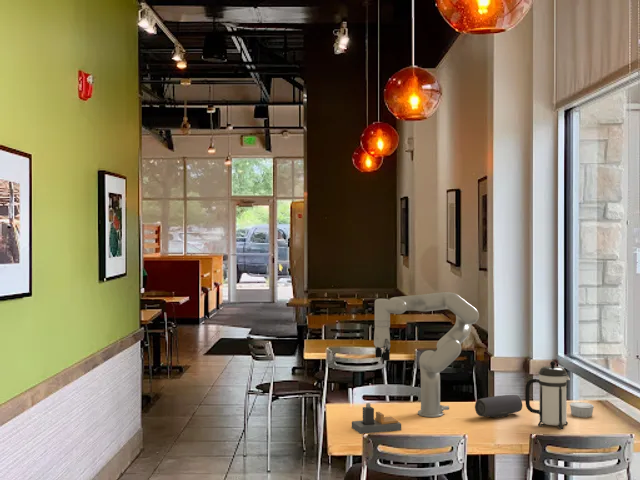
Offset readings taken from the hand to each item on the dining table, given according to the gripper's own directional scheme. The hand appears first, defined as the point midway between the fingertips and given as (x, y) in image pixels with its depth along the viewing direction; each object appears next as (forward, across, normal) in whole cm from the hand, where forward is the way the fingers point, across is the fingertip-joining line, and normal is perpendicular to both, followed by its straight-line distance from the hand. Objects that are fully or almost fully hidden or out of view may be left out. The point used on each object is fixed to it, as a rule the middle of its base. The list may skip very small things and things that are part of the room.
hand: (382, 358), depth 351 cm
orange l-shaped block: (+25, +21, -7) cm, 34 cm away
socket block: (+28, +21, -12) cm, 37 cm away
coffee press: (+28, +41, +67) cm, 84 cm away
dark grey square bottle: (+28, +21, -16) cm, 39 cm away
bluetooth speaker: (+29, +18, +54) cm, 64 cm away
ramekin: (+29, +29, +94) cm, 102 cm away
